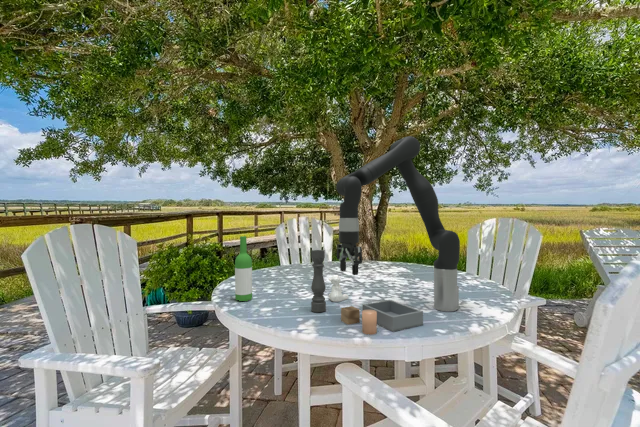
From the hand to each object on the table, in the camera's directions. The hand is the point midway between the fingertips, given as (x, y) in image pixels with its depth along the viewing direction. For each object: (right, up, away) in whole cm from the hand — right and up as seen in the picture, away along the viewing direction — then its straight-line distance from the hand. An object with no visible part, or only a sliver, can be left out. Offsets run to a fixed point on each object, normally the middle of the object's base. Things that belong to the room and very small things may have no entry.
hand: (348, 272), depth 125 cm
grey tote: (+16, -18, 0) cm, 24 cm away
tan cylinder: (+6, -18, -11) cm, 22 cm away
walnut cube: (0, -18, 0) cm, 18 cm away
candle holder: (-12, -18, +14) cm, 26 cm away
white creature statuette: (-3, -18, +30) cm, 35 cm away
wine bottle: (-47, -19, +31) cm, 59 cm away
